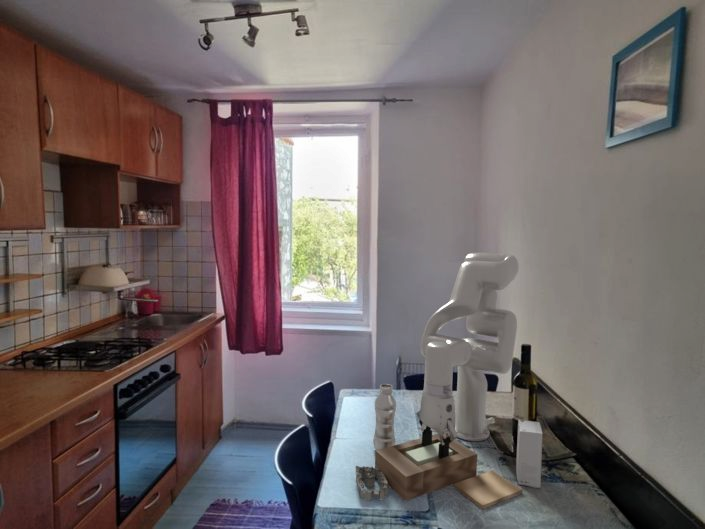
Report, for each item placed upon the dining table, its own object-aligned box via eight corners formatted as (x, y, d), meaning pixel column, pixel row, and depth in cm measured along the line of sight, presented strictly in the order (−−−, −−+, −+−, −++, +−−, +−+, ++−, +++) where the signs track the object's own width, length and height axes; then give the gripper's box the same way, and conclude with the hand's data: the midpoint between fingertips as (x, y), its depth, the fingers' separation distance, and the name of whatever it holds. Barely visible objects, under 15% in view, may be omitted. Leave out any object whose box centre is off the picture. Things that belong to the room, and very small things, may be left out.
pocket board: (442, 452, 132) (443, 432, 132) (476, 476, 120) (477, 454, 120) (374, 472, 121) (375, 450, 120) (404, 501, 109) (406, 476, 108)
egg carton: (388, 501, 109) (389, 485, 108) (358, 502, 108) (359, 486, 108) (381, 476, 119) (382, 462, 119) (354, 477, 119) (354, 462, 118)
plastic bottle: (393, 457, 129) (396, 391, 127) (371, 454, 130) (373, 388, 129) (396, 446, 135) (398, 383, 134) (374, 443, 137) (376, 381, 135)
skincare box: (540, 489, 115) (544, 434, 114) (516, 484, 117) (519, 431, 116) (537, 472, 123) (541, 421, 122) (514, 468, 125) (517, 417, 124)
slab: (439, 450, 126) (439, 442, 126) (452, 459, 121) (452, 451, 121) (405, 460, 120) (405, 451, 120) (417, 470, 115) (417, 461, 115)
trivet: (492, 473, 122) (492, 470, 122) (521, 493, 113) (522, 489, 113) (453, 487, 115) (454, 483, 115) (482, 509, 106) (482, 505, 106)
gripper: (471, 396, 114) (467, 462, 116) (428, 375, 129) (425, 434, 131) (449, 401, 110) (445, 469, 112) (407, 379, 125) (405, 440, 127)
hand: (434, 450), depth 121 cm, fingers open, 6 cm apart
